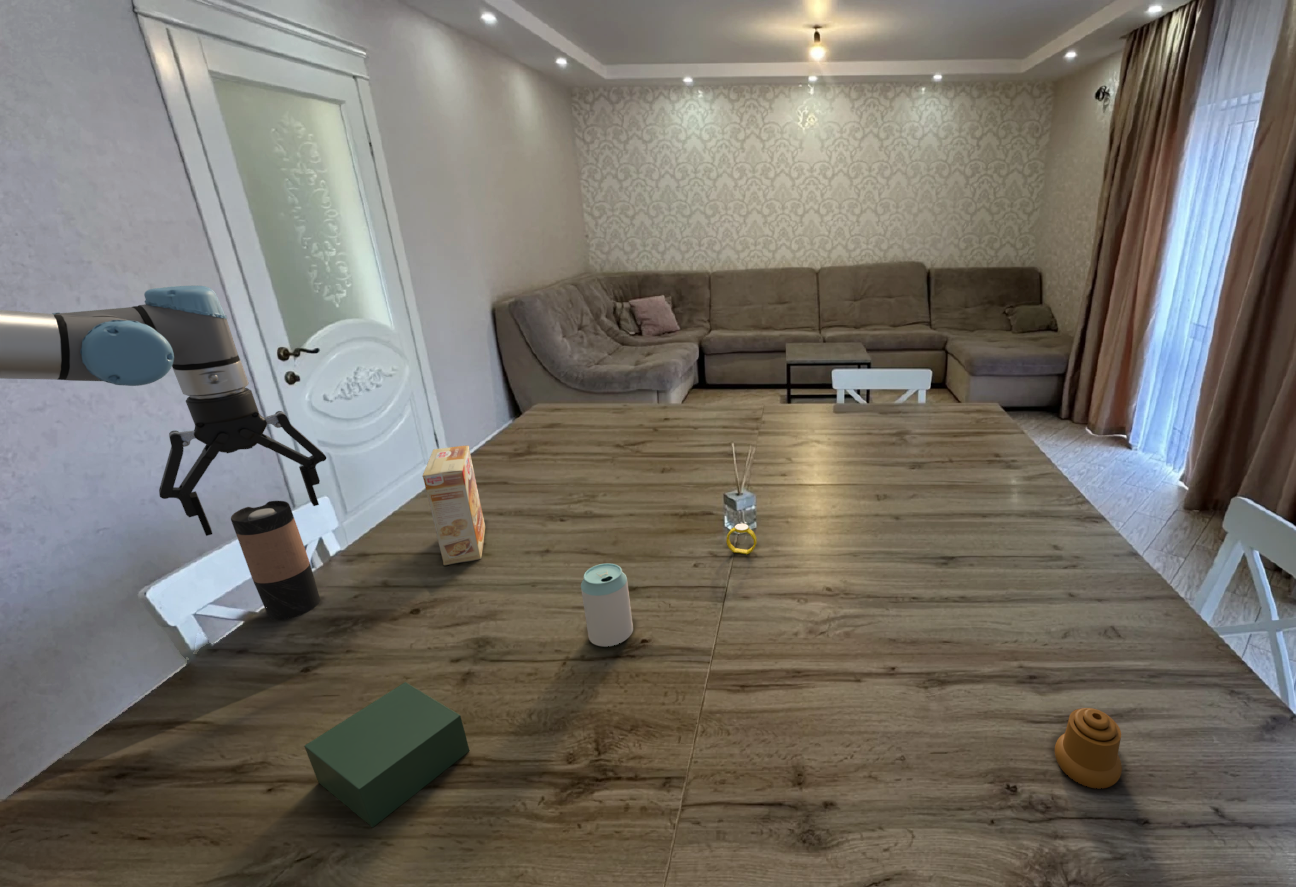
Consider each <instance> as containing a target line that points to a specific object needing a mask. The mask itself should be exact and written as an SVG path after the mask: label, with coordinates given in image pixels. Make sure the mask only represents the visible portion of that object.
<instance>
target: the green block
mask: <svg viewBox="0 0 1296 887" xmlns="http://www.w3.org/2000/svg"><path fill="white" fill-rule="evenodd" d="M303 747H304V749H305V752H306V755H307V757H308V759H309V760H308V761H309V762H310V764H311V767H312V770H313V772H314V775H315V777H316V780H317V783H318V784H320V786H322V787H323V788H324V789H325V790H327V791H328V792H329V793H330V794H331V795H333V796H334V797H335V798H336V799H338V800H339V801H340V802H341V803H342V804H343V805H345V806H346V807H347V809H350V811H352V812H353V813H354V814H355V815H357V816H358V817H359V818H360V819H361V820H362V821H364V822H365V823H366V824H367V825H369V827H371V828H374V827H375V826H377V825H378V824H380V823H381V822H382V821H383V820H385V819H386V818H387V817H388V816H390V815H391V814H392V813H393V812H394V811H396V810H397V809H398V808H400V807H401V806H402V805H404V804H405V803H406V802H407V801H408V800H410V799H411V798H412V797H414V796H415V795H416V794H418V793H419V792H420V791H421V790H422V789H424V788H425V787H426V786H428V784H430V783H431V782H433V781H434V780H435V779H436V778H437V777H439V776H440V775H441V774H442V773H444V772H445V771H446V770H448V769H449V768H450V767H452V766H453V765H454V764H455V763H456V762H458V761H459V760H460V759H462V758H463V757H464V756H465V755H467V754H468V753H469V752H470V747H469V742H468V739H467V735H466V731H465V727H464V724H463V720H462V716H461V714H459V713H458V712H457V711H454V710H453V709H451V708H449V707H448V706H446V705H444V704H443V703H441V702H439V701H438V700H436V699H434V698H433V697H431V696H429V695H428V694H426V693H424V691H423V692H422V690H420V689H418V688H416V687H415V686H413V685H411V684H410V683H408V682H406V681H404V682H403V683H401V684H400V685H398V686H396V687H395V688H393V689H392V690H390V691H389V692H387V693H385V694H384V695H382V696H381V697H379V698H377V699H376V700H375V701H372V702H371V703H370V704H368V705H366V706H365V707H363V708H362V709H360V710H359V711H356V712H355V713H353V714H352V715H351V716H349V717H347V718H346V719H344V720H342V721H341V722H339V723H338V724H336V725H335V726H333V727H332V728H330V729H329V730H327V731H325V732H324V733H322V734H320V735H319V736H317V737H316V738H314V739H312V740H311V741H309V742H308V743H306V744H305V745H304V746H303Z"/></svg>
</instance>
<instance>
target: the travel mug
mask: <svg viewBox="0 0 1296 887" xmlns="http://www.w3.org/2000/svg"><path fill="white" fill-rule="evenodd" d="M230 521H231V524H232V527H233V529H234V532H235V535H236V538H237V541H238V543H239V546H240V549H241V552H242V554H243V557H244V560H245V562H246V565H247V568H248V571H249V574H250V576H251V580H252V581H253V584H254V586H255V588H256V592H257V593H258V595H259V598H260V601H261V603H262V605H263V607H264V609H265V612H266V614H267V616H268V618H269V619H271V620H274V621H283V620H284V621H285V620H289V619H294V618H296V617H297V618H298V617H299V616H301V615H304V614H306V613H308V612H310V611H312V610H313V609H315V608H316V607H317V606H318V605H319V604H320V602H321V597H320V593H319V589H318V587H317V583H316V580H315V576H314V573H313V568H312V565H311V563H310V558H309V557H308V554H307V551H306V547H305V544H304V542H303V539H302V536H301V533H300V531H299V528H298V525H297V522H296V519H295V517H294V513H293V511H292V508H291V505H290V503H289V502H288V501H285V500H270V501H267V502H266V503H265V504H262V505H260V506H256V507H253V506H246V507H243V508H241V509H239V510H237V511H235V512H234V513H233V514H231V517H230ZM266 607H267V608H266Z"/></svg>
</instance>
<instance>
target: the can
mask: <svg viewBox="0 0 1296 887" xmlns="http://www.w3.org/2000/svg"><path fill="white" fill-rule="evenodd" d="M580 591H581V598H582V604H583V610H584V616H585V622H586V623H585V624H586V629H587V636H588V640H589V642H590V643H591V644H592V645H594V646H598V647H604V648H607V647H608V646H609V647H614V645H615V646H617V645H620V644H622V643H623V642H625V641H626V640H627V639H629V638H630V636H631V635H632V634H633V632H634V625H633V616H632V615H633V614H632V608H631V600H630V592H629V583H628V577H627V575H626V573H624V572H623V568H622V567H621V566H620V565H618V564H616V563H607V562H606V563H600V564H596V565H593V566H591V567H590V568H588V569H587V570H586V571H585V572H584V574H583V578H582V580H581V583H580ZM619 643H620V644H619Z"/></svg>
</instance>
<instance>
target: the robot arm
mask: <svg viewBox="0 0 1296 887" xmlns="http://www.w3.org/2000/svg"><path fill="white" fill-rule="evenodd" d="M143 295H144V299H145V300H144V304H139V305H135V306H134V305H133V306H129V307H117V308H108V309H107V308H106V309H93V310H83V311H72V312H52V313H45V312H34V311H33V312H31V311H19V310H6V309H0V379H1V380H2V379H3V380H4V379H5V380H54V381H56V380H57V381H71V382H104V383H107V384H112V385H115V386H128V387H138V386H145V385H150V384H152V383H154V382H157V381H159V380H160V379H161V380H162V378H164V377H165V376H166V375H167V374H168V373H169V372H170V371H171V369H172V370H173V372H174V376H175V377H176V379H177V380H176V381H177V383H178V385H179V388H180V390H181V393H182V395H184V396H186V397H187V398H186V400H185V403H186V406H187V409H188V411H189V413H190V416H191V419H192V421H193V423H194V424H193V425H194V429H193V430H187V431H179V430H171V431H170V432H168V437H169V442H170V446H171V447H170V450H169V454H168V457H167V459H166V460H167V461H166V463H165V468H164V472H163V474H162V478H161V482H160V485H159V488H158V494H159V497H160V498H161V499H163V500H167V499H177V500H179V501H180V503H181V506H182V509H183V510H184V514H185V516H187V517H188V518H193V517H198V520H199V523H200V524H201V528H202V529H203V532H204V534H205V536H206V537H208V536H212V535H213V531H212V527H211V525H210V522H209V520H208V518H207V515H206V512H205V510H204V508H203V505H202V502H201V500H200V498H199V494H198V493H197V491H194V489H195V488H196V487H197V485H198V483H199V482H200V481H201V479H202V477H203V476H204V474H205V473H206V471H207V470H208V469H209V467H210V465H211V464H212V462H213V461H214V460H215V459H216V457H217V456H218V454H219V453H225V454H231V453H235V452H237V451H240V450H250V449H253V448H254V447H255V446H257V444H258V445H260V446H262V447H263V448H266V449H269V450H270V451H272V452H275V453H277V454H279V455H281V456H283V457H284V458H287V459H289V460H291V461H293V462H295V463H297V464H299V465H300V466H298V468H299V471H300V474H301V477H302V480H303V483H304V486H305V488H306V492H307V495H308V498H309V501H310V503H311V504H312V506H313V507H317V506H320V503H319V501H318V498H317V494H316V491H315V488H314V486H316V485H317V486H318V485H320V481H321V480H320V477H319V474H318V471H317V468H316V467H317V465H318V464H319V463H322V462H325V461H326V460H327V455H325V453H324V452H323V451H322V450H321V449H320V448H319V447H317V446H316V445H315V444H314V443H313V442H312V441H310V440H309V439H308V438H307V437H306V436H305V435H304V434H302V432H300V431H299V430H298V429H297V428H296V427H295V426H294V425H292V424H291V422H290V420H289V418H288V416H287V415H286V413H285V412H284V411H282V410H277V411H276V412H275V413H274V414H271V415H267V416H262V415H261V413H260V412H259V408H258V405H257V402H256V400H255V397H254V394H253V391H252V390H251V389H250V388H247V387H248V386H249V380H248V377H247V374H246V372H245V369H244V365H243V362H242V360H241V358H240V356H239V354H238V350H237V348H236V343H235V341H234V338H233V334H232V331H231V328H230V325H229V322H228V316H227V315H226V314H225V311H224V309H223V306H222V304H221V302H220V299H219V297H218V294H217V293H216V292H215V290H213V289H212V288H211V287H209V286H205V285H175V286H166V287H165V286H164V287H156V288H150V289H147V290H146V291H144V294H143ZM268 425H272V426H273V427H275V428H277V429H280V428H282V430H283V431H284V432H286V434H287V435H289V436H290V437H291V438H292V439H293V440H294V441H295V442H296V443H297V444H299V445H300V446H301V447H302V448H303V449H305V450H306V451H307V452H308V453H309V454H310V455H309V456H306V455H305V454H303V453H301V452H299V451H297V450H295V449H293V448H291V447H289V446H287V445H286V444H284V443H282V442H280V441H277V439H276V440H275V439H273V438H272V437H270V436H269V435H267V434H265V433H264V432H265V431H266V428H267V426H268ZM194 439H195V440H197V441H198V442H201V443H202V444H204V447H203V449H202V450H201V453H200V454H199V456H198V458H197V459H196V460H195V462H194V463H193V465H192V466H191V468H190V469H189V471H188V473H187V474H186V475H185V477H184V479H183V480H182V481H181V483H180V484H179V486H178V487H175V483H176V481H177V476H178V473H179V470H180V466H181V462H182V459H183V457H184V456H183V455H184V450H185V448H186V447H188V446H190V445H191V441H192V440H194Z"/></svg>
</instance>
